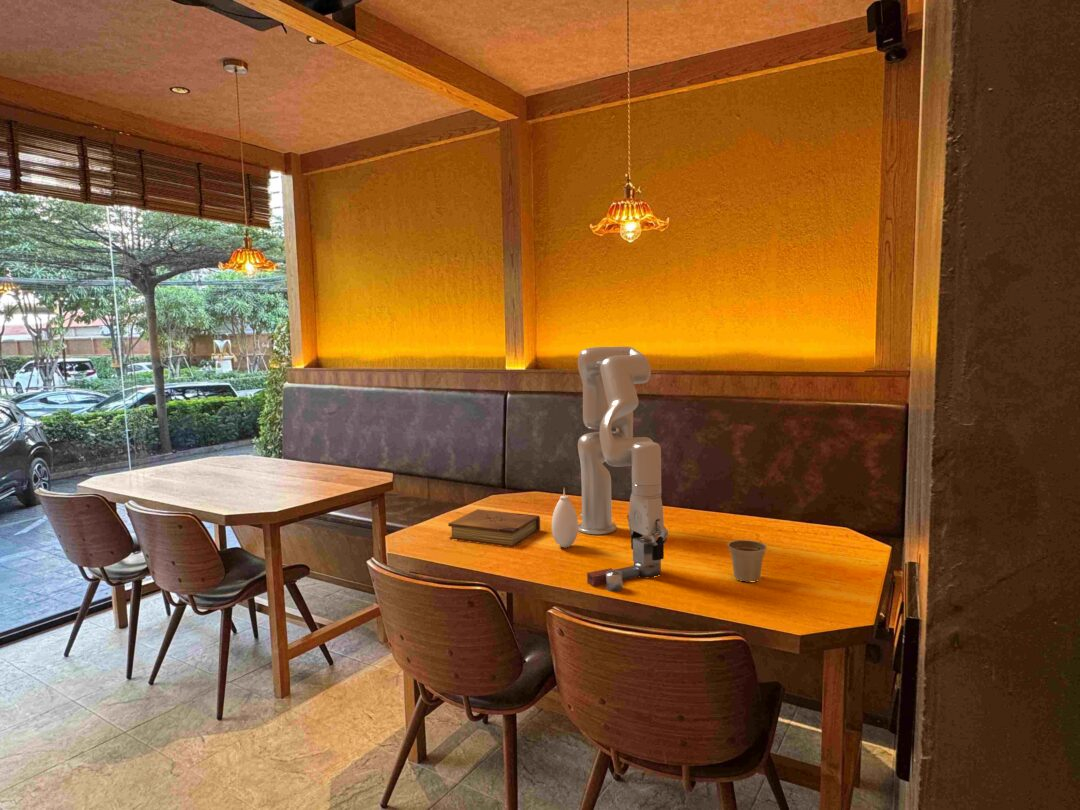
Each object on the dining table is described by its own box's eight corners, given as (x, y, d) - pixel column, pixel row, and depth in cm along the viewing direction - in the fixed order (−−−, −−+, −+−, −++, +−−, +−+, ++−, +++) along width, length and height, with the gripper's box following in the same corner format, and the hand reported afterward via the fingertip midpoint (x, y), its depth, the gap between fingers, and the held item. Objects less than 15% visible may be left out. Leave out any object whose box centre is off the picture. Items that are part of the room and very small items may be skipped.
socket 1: (603, 587, 162) (602, 571, 162) (617, 584, 164) (616, 568, 164) (611, 593, 159) (611, 576, 158) (625, 590, 160) (625, 573, 160)
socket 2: (633, 560, 172) (632, 537, 172) (649, 557, 175) (649, 534, 174) (643, 566, 168) (643, 542, 167) (660, 563, 170) (660, 539, 169)
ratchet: (583, 580, 168) (583, 556, 167) (650, 567, 176) (650, 544, 175) (597, 589, 161) (596, 565, 161) (666, 575, 170) (666, 552, 169)
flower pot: (736, 569, 172) (736, 537, 172) (772, 577, 167) (772, 544, 166) (721, 580, 165) (721, 546, 164) (758, 588, 159) (758, 554, 158)
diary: (540, 532, 213) (540, 515, 212) (513, 549, 196) (513, 530, 195) (479, 524, 222) (478, 508, 222) (448, 540, 206) (448, 522, 205)
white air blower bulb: (576, 551, 190) (575, 490, 188) (550, 550, 192) (548, 490, 190) (580, 543, 198) (579, 484, 196) (554, 542, 199) (553, 484, 198)
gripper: (616, 485, 175) (617, 547, 177) (653, 498, 160) (653, 566, 161) (640, 481, 178) (640, 542, 180) (678, 494, 163) (678, 561, 164)
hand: (647, 554), depth 171 cm, fingers open, 9 cm apart
